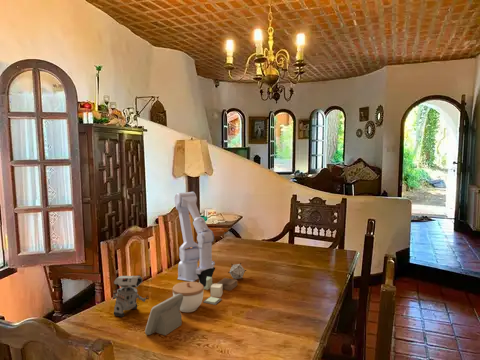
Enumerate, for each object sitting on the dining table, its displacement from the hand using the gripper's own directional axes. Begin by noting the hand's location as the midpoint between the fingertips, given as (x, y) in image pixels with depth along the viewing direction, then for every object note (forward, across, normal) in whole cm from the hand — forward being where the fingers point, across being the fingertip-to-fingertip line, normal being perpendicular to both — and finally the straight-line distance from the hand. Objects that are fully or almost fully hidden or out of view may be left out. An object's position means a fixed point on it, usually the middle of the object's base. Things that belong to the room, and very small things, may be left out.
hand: (205, 284), depth 166 cm
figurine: (+2, -36, +14) cm, 39 cm away
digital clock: (+2, -40, -6) cm, 40 cm away
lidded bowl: (+2, -23, -5) cm, 24 cm away
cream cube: (+2, -6, -9) cm, 11 cm away
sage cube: (+1, 0, 0) cm, 1 cm away
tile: (+1, -12, -10) cm, 16 cm away
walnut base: (+2, +5, -9) cm, 10 cm away
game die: (+2, +16, -9) cm, 18 cm away
